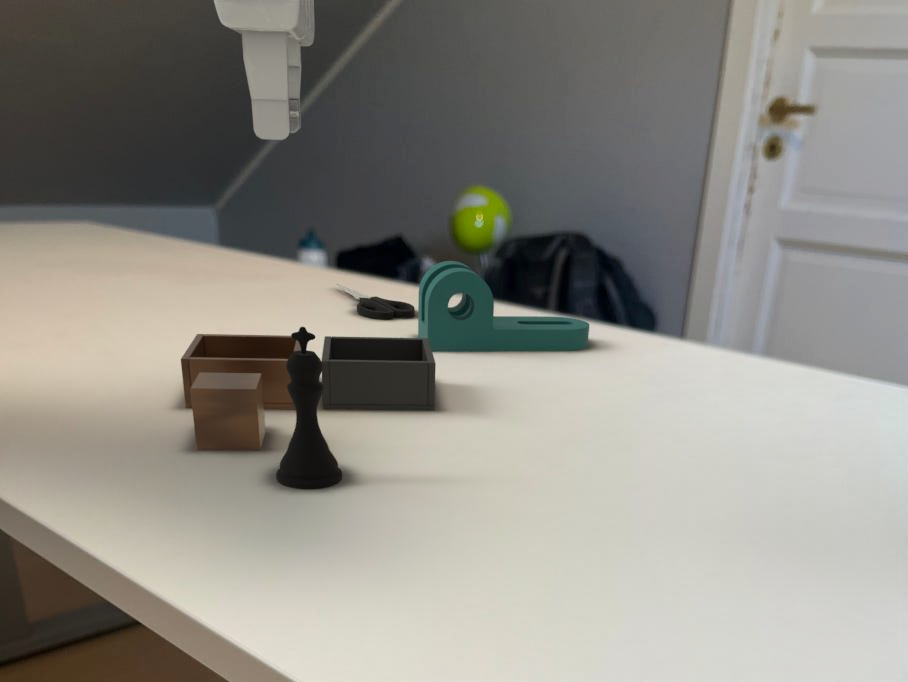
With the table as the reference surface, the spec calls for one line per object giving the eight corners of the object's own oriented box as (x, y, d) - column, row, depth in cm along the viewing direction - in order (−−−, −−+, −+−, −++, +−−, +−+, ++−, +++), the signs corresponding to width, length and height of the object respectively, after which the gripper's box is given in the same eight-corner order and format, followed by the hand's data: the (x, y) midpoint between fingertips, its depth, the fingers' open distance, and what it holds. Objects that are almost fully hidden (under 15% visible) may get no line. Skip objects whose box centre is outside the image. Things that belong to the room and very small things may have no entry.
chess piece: (289, 465, 68) (280, 317, 63) (350, 471, 67) (346, 322, 62) (267, 486, 64) (256, 330, 59) (331, 493, 64) (326, 336, 59)
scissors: (309, 289, 127) (371, 320, 112) (309, 282, 126) (371, 312, 111) (357, 287, 130) (423, 317, 115) (357, 280, 129) (424, 309, 114)
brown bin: (185, 408, 79) (180, 358, 77) (201, 379, 87) (197, 333, 85) (300, 409, 80) (298, 360, 78) (306, 381, 88) (304, 335, 86)
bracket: (427, 351, 100) (428, 270, 96) (418, 337, 105) (418, 260, 102) (595, 351, 103) (602, 273, 99) (577, 337, 109) (584, 262, 105)
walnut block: (196, 451, 70) (190, 388, 68) (205, 432, 74) (199, 372, 71) (260, 451, 70) (256, 389, 68) (265, 432, 74) (261, 373, 72)
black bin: (323, 410, 80) (321, 360, 78) (326, 381, 88) (324, 336, 86) (434, 411, 81) (435, 362, 79) (427, 382, 89) (428, 338, 87)
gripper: (221, -142, 56) (241, 128, 63) (157, -250, 39) (195, 141, 45) (331, -135, 57) (340, 131, 64) (318, -238, 39) (332, 146, 46)
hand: (279, 135), depth 54 cm, fingers open, 8 cm apart
